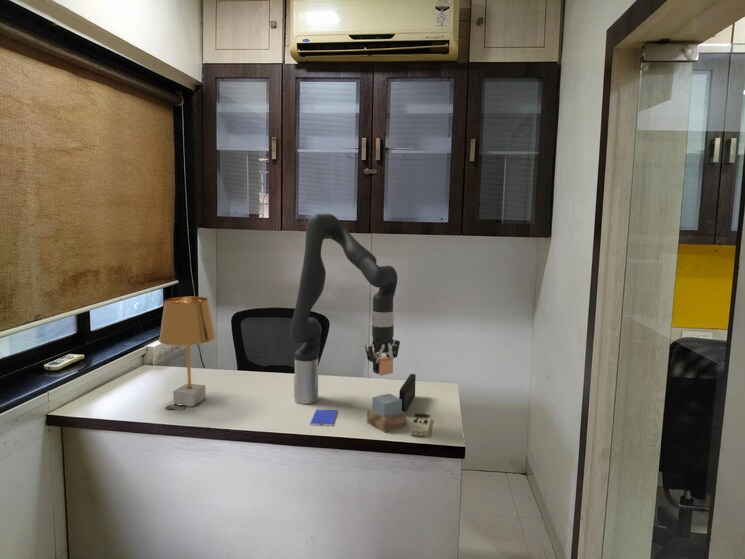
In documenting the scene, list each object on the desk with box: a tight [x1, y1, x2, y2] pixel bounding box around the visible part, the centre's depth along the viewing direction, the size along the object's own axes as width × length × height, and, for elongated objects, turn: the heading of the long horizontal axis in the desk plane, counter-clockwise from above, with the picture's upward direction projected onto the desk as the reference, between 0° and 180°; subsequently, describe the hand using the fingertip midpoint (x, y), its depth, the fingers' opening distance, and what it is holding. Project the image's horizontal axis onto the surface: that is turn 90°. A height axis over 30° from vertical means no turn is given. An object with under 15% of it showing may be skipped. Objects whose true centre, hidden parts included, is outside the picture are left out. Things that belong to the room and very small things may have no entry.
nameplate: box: [398, 373, 416, 413], centre depth 201 cm, size 21×2×10 cm, turn 164°
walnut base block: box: [366, 409, 408, 434], centre depth 184 cm, size 10×10×5 cm
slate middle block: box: [371, 393, 402, 418], centre depth 183 cm, size 8×8×5 cm
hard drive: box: [309, 408, 338, 427], centre depth 188 cm, size 2×8×12 cm
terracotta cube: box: [372, 355, 394, 376], centre depth 180 cm, size 5×5×5 cm
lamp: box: [158, 296, 217, 407], centre depth 200 cm, size 21×21×41 cm
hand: (382, 371), depth 180 cm, fingers closed on terracotta cube, 5 cm apart
